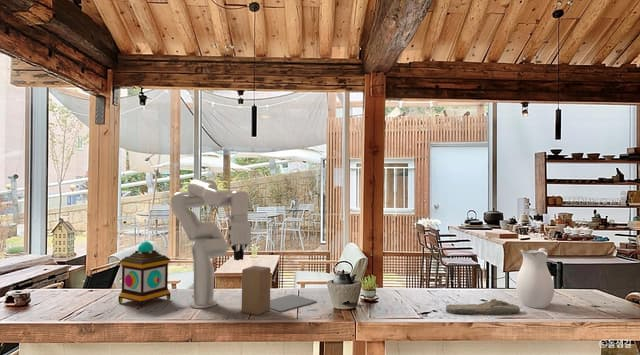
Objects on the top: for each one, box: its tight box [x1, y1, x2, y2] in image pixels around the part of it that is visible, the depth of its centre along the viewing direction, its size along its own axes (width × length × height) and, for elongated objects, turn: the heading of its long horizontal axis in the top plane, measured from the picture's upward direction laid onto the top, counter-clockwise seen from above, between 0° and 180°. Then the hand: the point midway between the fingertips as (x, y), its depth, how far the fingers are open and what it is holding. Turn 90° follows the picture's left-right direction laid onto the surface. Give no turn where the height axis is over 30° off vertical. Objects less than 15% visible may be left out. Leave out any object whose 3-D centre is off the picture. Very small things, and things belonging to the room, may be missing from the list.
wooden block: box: [241, 265, 272, 316], centre depth 192 cm, size 10×10×20 cm
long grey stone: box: [445, 298, 521, 315], centre depth 195 cm, size 35×5×10 cm
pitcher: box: [515, 247, 555, 309], centre depth 209 cm, size 24×17×28 cm
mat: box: [270, 293, 318, 313], centre depth 205 cm, size 18×24×1 cm
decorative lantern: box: [117, 240, 171, 309], centre depth 206 cm, size 20×20×30 cm
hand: (238, 259), depth 185 cm, fingers closed
